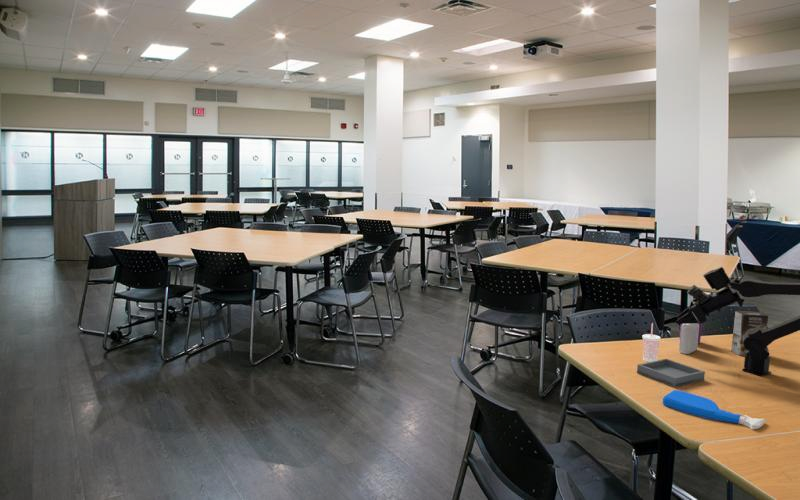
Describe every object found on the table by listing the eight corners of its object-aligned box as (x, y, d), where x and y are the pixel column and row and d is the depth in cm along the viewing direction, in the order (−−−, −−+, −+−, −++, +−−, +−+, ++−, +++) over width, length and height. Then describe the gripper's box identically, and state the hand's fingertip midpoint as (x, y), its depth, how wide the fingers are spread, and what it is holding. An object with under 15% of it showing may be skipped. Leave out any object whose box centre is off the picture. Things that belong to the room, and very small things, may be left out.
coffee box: (738, 355, 210) (742, 314, 208) (730, 350, 217) (734, 310, 214) (764, 356, 209) (768, 315, 207) (755, 351, 216) (759, 311, 214)
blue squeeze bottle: (660, 397, 163) (756, 426, 145) (675, 387, 170) (768, 414, 153) (659, 406, 163) (754, 436, 146) (674, 396, 171) (766, 424, 153)
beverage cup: (637, 358, 206) (639, 321, 204) (649, 356, 208) (651, 320, 206) (650, 363, 200) (653, 326, 198) (662, 361, 203) (665, 324, 201)
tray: (704, 380, 184) (704, 371, 184) (674, 387, 178) (675, 378, 177) (665, 366, 197) (666, 358, 197) (637, 372, 190) (637, 364, 190)
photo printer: (687, 347, 221) (689, 316, 219) (698, 349, 217) (701, 319, 216) (677, 352, 213) (679, 321, 212) (689, 355, 210) (691, 323, 209)
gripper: (706, 276, 205) (666, 296, 213) (705, 285, 189) (662, 305, 197) (724, 303, 203) (683, 321, 211) (724, 313, 187) (680, 333, 195)
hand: (677, 319), depth 203 cm, fingers open, 9 cm apart
